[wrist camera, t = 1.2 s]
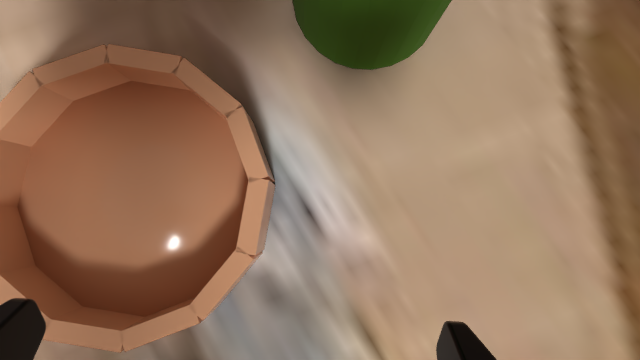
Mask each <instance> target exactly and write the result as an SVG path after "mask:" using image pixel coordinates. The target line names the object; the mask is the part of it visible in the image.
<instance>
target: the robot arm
mask: <svg viewBox="0 0 640 360" xmlns="http://www.w3.org/2000/svg"><path fill="white" fill-rule="evenodd" d="M45 330H46V322H45V320H44V318H43V316H42V314H41V311H40V309H39V307H38V305H37V303H36V302H35V301H34V300H33V299H27V298H13V299H10V300H8V301H6V302H5V303H3V304H1V305H0V360H33V359H34V356H35V354H36V352H37V350H38V347H39V345H40V343H41V341H42V339H43V336H44V334H45ZM436 351H437V360H496V358H495V357H494V356H493V355H492V354H491V353H490V351H489V350H488V349H487V348H486V347H485V346H484V344H483V343H482V342H481V341H480V340H479V339H478V337H477V336H476V335H475V334H474V333H473V332H472V330H471V329H470V328H469V327H468V326H467V325H466V324H465V323H463V322H455V321H446V322H445V323H444V325H443V328H442V331H441V334H440V337H439V340H438V342H437V349H436Z"/></svg>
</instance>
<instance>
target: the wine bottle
mask: <svg viewBox="0 0 640 360" xmlns="http://www.w3.org/2000/svg"><path fill="white" fill-rule="evenodd" d="M450 2H451V0H293V6H294V10H295V15H296V20H297V22H298V24H299V26H300V28H301V30H302V32H303V34H304V36H305V38H306V39H307V40H308V41H309V42H310V43H311V44H312V45H313V46H314V47H315V49H316V50H317V51H318V52H319V53H321V54H322V55H324V56H325V57H327V58H329V59H330V60H332V61H333V62H335V63H337V64H341V65H344V66H347V67H350V68H353V69H369V70H372V69H377V68H382V67H387V66H391V65H393V64H396V63H398V62H400V61H402V60H404V59H406V58H408V57H409V56H410V55H412V54H413V53H414V52H415V51H416V50H417V49H419V48H420V47H421V46H422V45H423V44H424V42H425V41H426V39H427V38H428V36H429V35H430V33H431V32H432V30H433V28H434V27H435V25H436V24H437V22H438V21H439V19H440V18H441V16H442V14H443V13H444V11H445V10H446V8H447V7H448V5H449V4H450Z"/></svg>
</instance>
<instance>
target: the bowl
mask: <svg viewBox="0 0 640 360" xmlns="http://www.w3.org/2000/svg"><path fill="white" fill-rule="evenodd" d="M33 72H34V74H33V73H31V72H28V73H27V74H26V75H25V76H24V77H23V78H22V79H21V81H20V82H19V83H18V84H17V85H16V86H15V87H14V88H13V89H12V90H11V91H10V92H9V94H8V95H7V96H6V97H5V98H4V99H3V100H2V101H1V102H0V304H3V303H5V302H6V301H8V300H10V299H13V298H27V299H33V300H34V301H35V302H36V303H37V305H38V307H39V309H40V311H41V314H42V316H43V318H44V320H45V322H46V330H45V334H44V336H43V340H47V341H53V342H59V343H65V344H71V345H77V346H84V347H90V348H96V349H102V350H108V351H114V352H120V353H121V352H122V351H123V350H124V351H125V352H126V351H129V350H131V349H134V348H137V347H139V346H142V345H144V344H147V343H150V342H152V341H155V340H157V339H160V338H163V337H165V336H168V335H170V334H173V333H176V332H178V331H181V330H183V329H186V328H188V327H191V326H194V325H196V324H199V323H200V322H201V321H202V320H204V319H205V318H206V317H207V316H209V315H210V314H211V313H212V312H213V311H214V310H215V309H216V308H217V307H218V306H219V305H220V304H221V303H222V301H223V300H224V299H225V298H226V297H227V295H228V294H229V293H230V292H231V291H232V289H233V288H234V287H235V286H236V284H237V283H238V282H239V281H240V280H241V278H242V277H243V276H244V275H245V274H246V272H247V271H248V270H249V269H250V267H251V266H252V265H253V264H254V263H255V261H256V260H257V259H258V258H259V257H260V255H261V254H262V252H261V251H263V250H264V248H265V242H266V236H267V230H268V225H269V219H270V213H271V208H272V202H273V196H274V191H275V185H274V184H273V182H275V180H274V178H273V175H272V172H271V169H270V167H269V164H268V161H267V159H266V156H265V153H264V150H263V148H262V145H261V142H260V140H259V137H258V134H257V131H256V129H255V126H254V123H253V121H252V120H251V118H250V117H249V115H248V114H247V112H246V111H245V109H244V108H243V106H242V105H241V103H239V102H238V101H237V100H236V99H234V98H233V97H232V96H231V95H230V94H228V93H227V92H226V91H225V90H223V89H222V88H221V87H220V86H219V85H217V84H216V83H215V82H214V81H212V80H211V79H210V78H209V77H208V76H206V75H205V74H204V73H203V72H201V71H200V70H199V69H198V68H196V67H195V66H194V65H193V64H192V63H190V62H189V61H188V60H187V59H185V58H184V59H183V58H182V57H181V56H178V55H172V54H166V53H160V52H154V51H148V50H142V49H136V48H130V47H124V46H118V45H112V44H108V46H105V45H104V44H103V45H100V46H97V47H95V48H92V49H89V50H86V51H83V52H80V53H77V54H74V55H72V56H69V57H66V58H63V59H60V60H57V61H54V62H51V63H49V64H46V65H43V66H40V67H37V68H34V69H33Z"/></svg>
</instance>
